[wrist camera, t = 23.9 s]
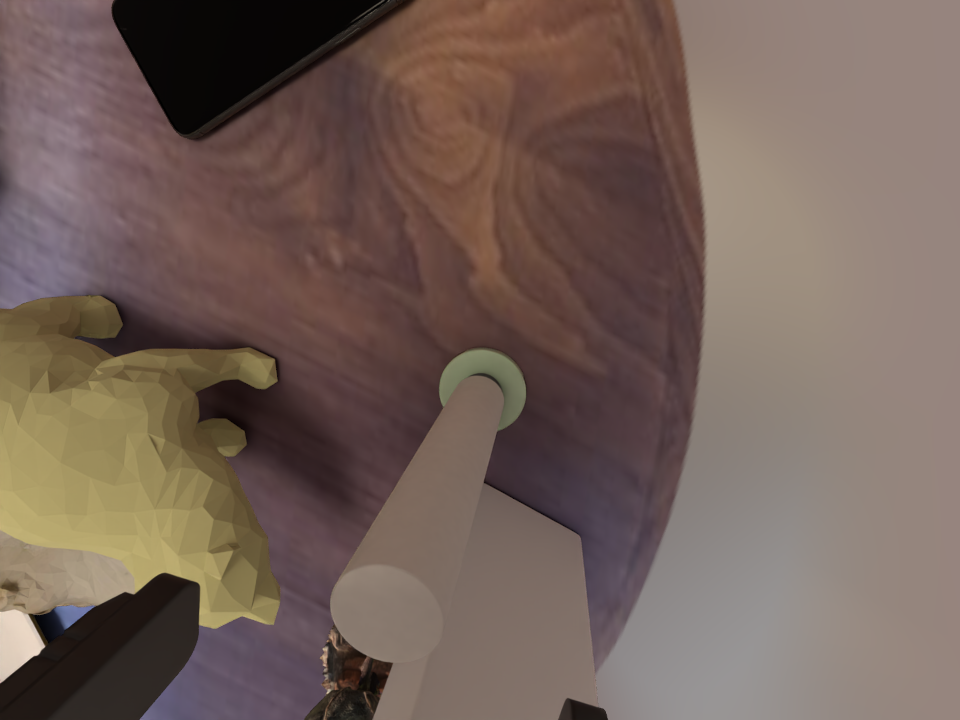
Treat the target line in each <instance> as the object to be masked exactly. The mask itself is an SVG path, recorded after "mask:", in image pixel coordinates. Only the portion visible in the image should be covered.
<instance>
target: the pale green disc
mask: <svg viewBox="0 0 960 720" xmlns="http://www.w3.org/2000/svg"><path fill="white" fill-rule="evenodd" d="M476 373H485V374H488V375H491V376H492V377H494V378H495V379H496V380H497V381H498V382H499V384H500V385H501V388H502V393H503V396H504V407H503V411H502V414H501V418H500V422H499V426H498V429H497V431H499V430H502V429H504V428H506V427H508V426H509V425H511V424H512V423H513V422H514V421H515V420H516V419H517V418H518V417H519V415H520V414H521V412H522V410H523V408H524V405H525V400H526V392H527V388H526V382H525V378H524V375H523V373H522V371H521V369H520V368H519V366H518V365H517V364H516V363H515V362H514V360H513V359H511V358H510V357H509V356H507V355H506V354H504V353H502V352H500V351H498V350H495V349H491V348H473V349H469V350H466V351H464V352H462V353H460V354H458V355H457V356H455V357H454V358H453V359H452V360H451V361H450V362H449V364H448V365H447V366H446V368H445V369H444V371H443V373H442V375H441V379H440V383H439V395H440V400H441V403H442V406H443V408H444V406H445V405H446V403H447V401H448V400H449V398H450V396H451V395H452V393H453V391H454V390H455V388H456V387H457V385H458V384H459V383H460V382H461V381H462V380H464V379H465V378H467V377H469V376H471V375H473V374H476Z"/></svg>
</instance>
